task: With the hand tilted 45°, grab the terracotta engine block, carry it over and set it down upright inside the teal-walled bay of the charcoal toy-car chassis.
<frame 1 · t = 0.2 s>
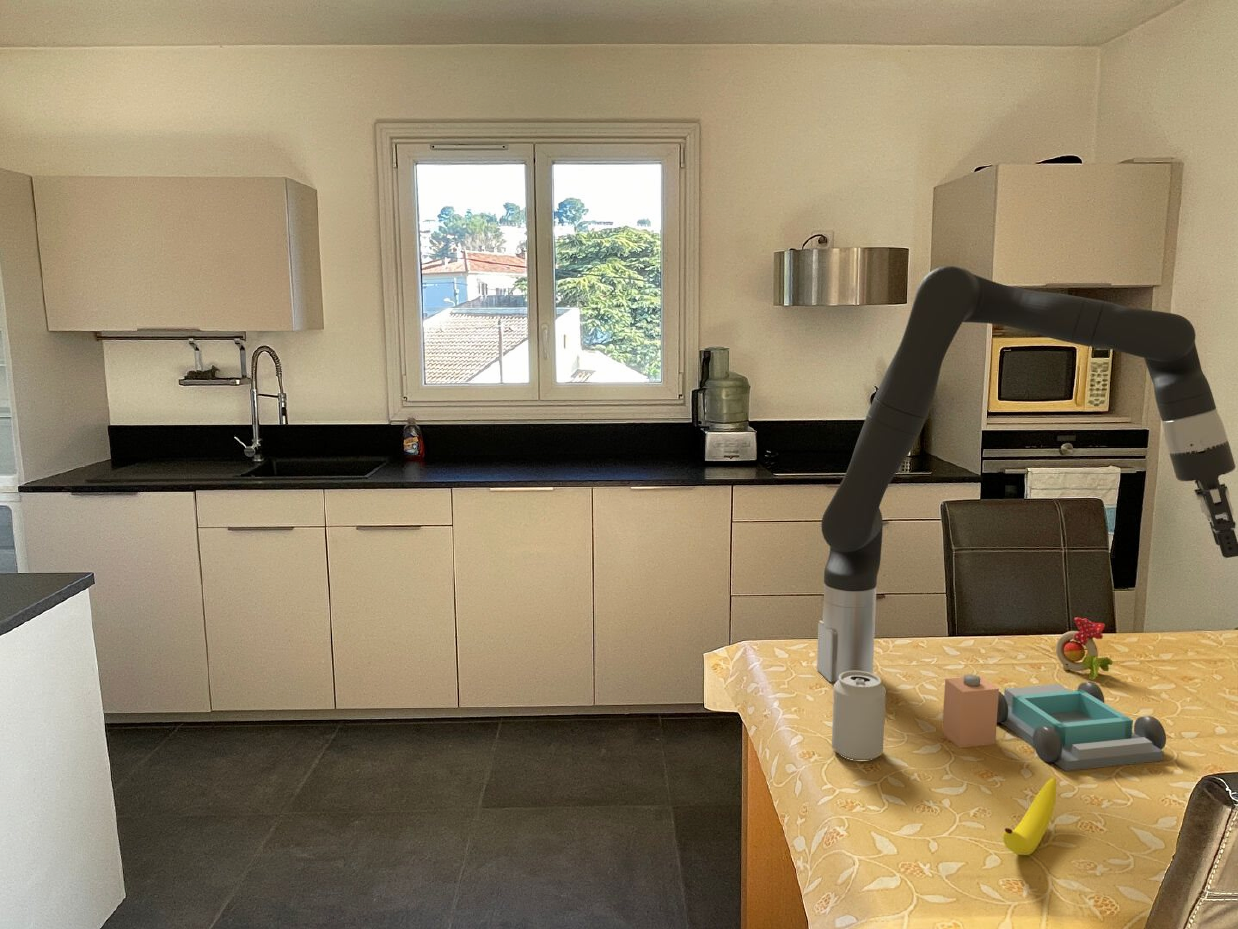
hand: (1228, 550, 132), 31 cm above the table, tool tilted 20°, fingers open, 8 cm apart
chassis: (1068, 734, 141), on the table
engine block: (968, 738, 140), on the table
can: (856, 753, 135), on the table
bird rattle: (1080, 675, 164), on the table
banana: (1029, 844, 112), on the table
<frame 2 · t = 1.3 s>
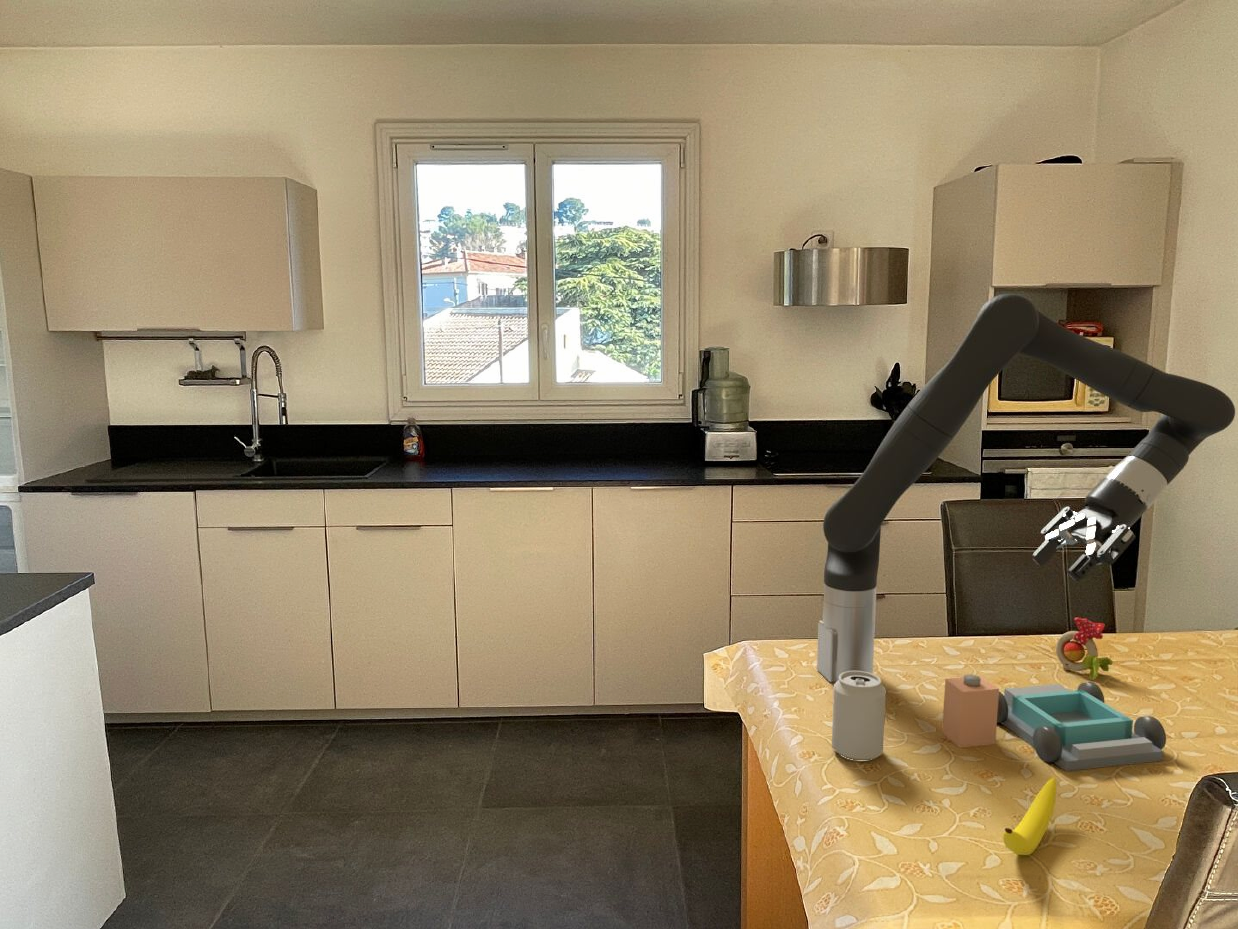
hand: (1053, 569, 137), 26 cm above the table, tool tilted 45°, fingers open, 8 cm apart
nothing on the table moved.
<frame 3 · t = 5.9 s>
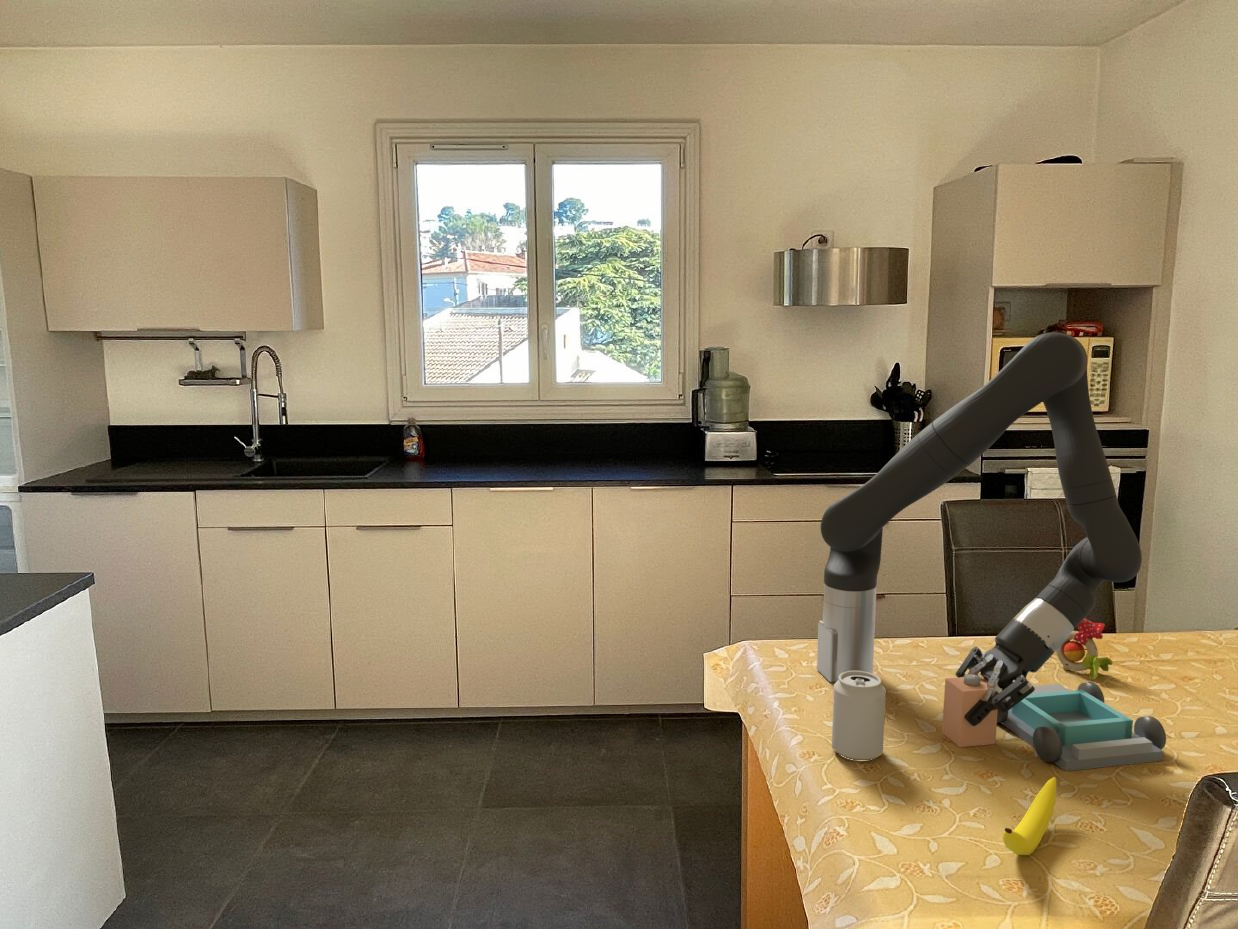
hand: (959, 713, 139), 4 cm above the table, tool tilted 45°, fingers closed on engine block, 5 cm apart
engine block: (968, 738, 140), on the table, touching gripper
everything else where it was.
when the fingers open (7 cm above the table, at t = 11.4 s): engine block drops 1 cm, resting on chassis.
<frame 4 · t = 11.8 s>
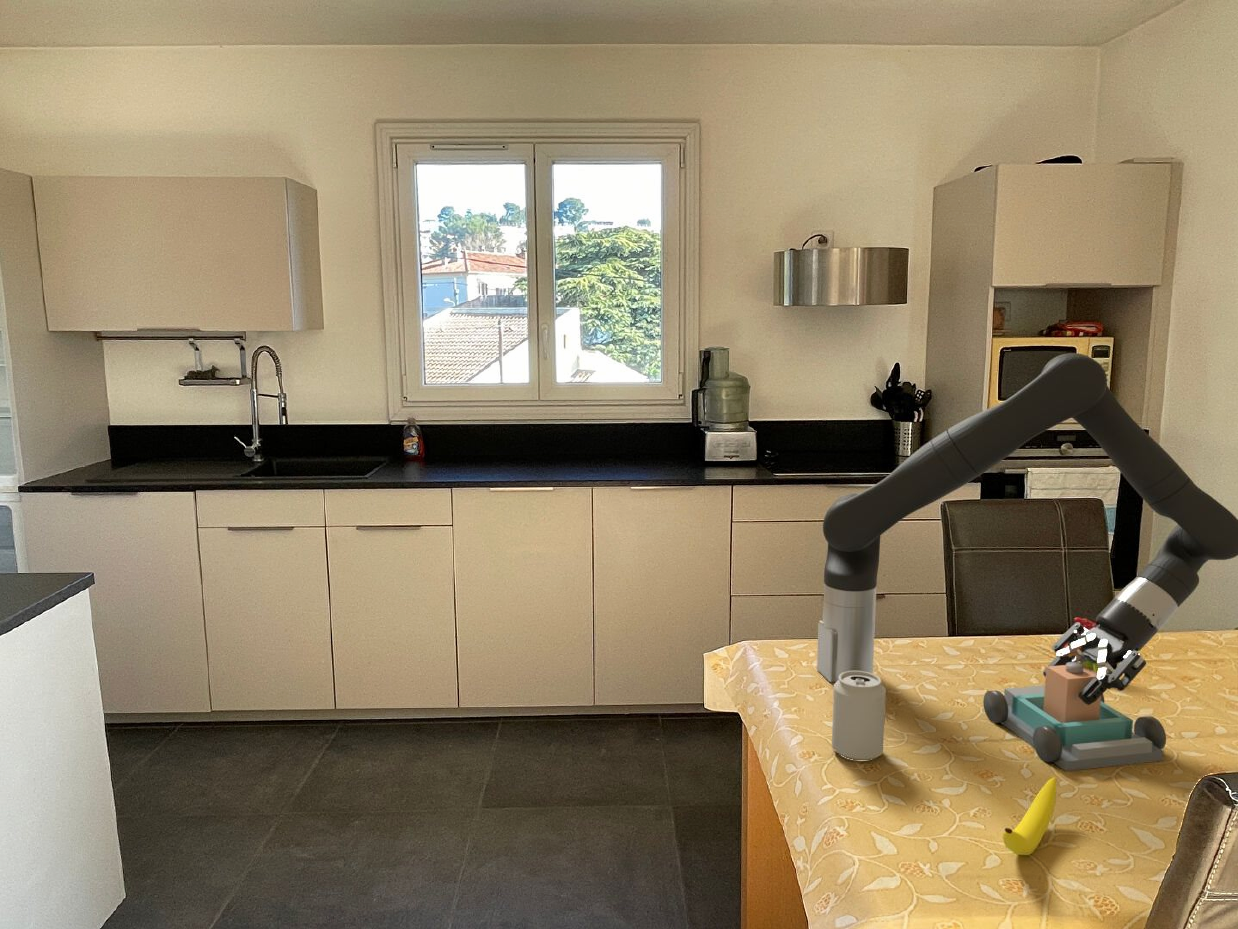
hand: (1064, 689, 139), 8 cm above the table, tool tilted 45°, fingers open, 8 cm apart
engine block: (1069, 725, 140), point 1 cm above the table, touching chassis
everything else where it was.
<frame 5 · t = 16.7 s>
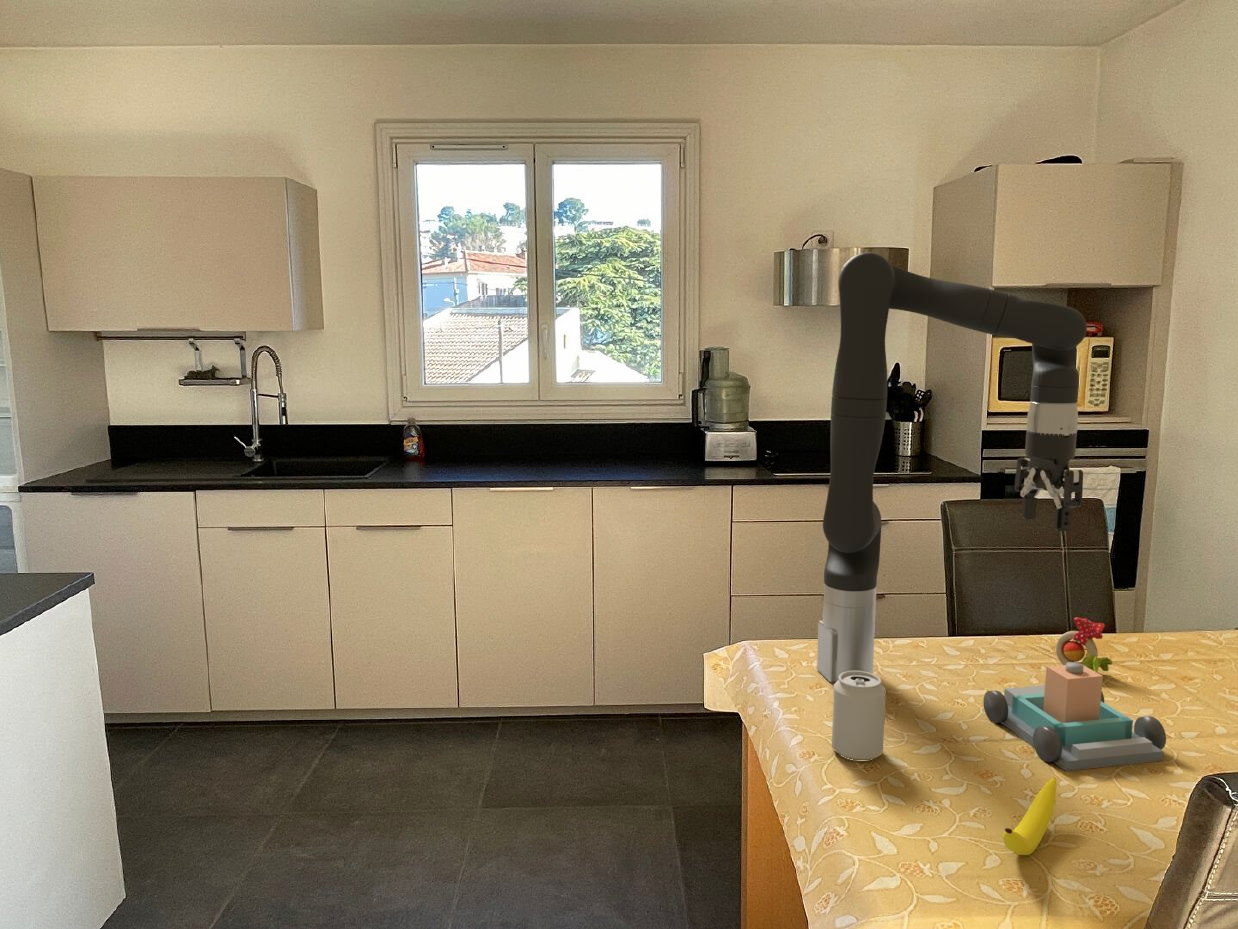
hand: (1044, 524, 151), 30 cm above the table, tool pointing down, fingers open, 8 cm apart
nothing on the table moved.
at the end: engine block 0.0 cm off-centre on the chassis, point 1.5 cm above the chassis's base; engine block tilted 0°; the gripper is holding nothing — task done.
